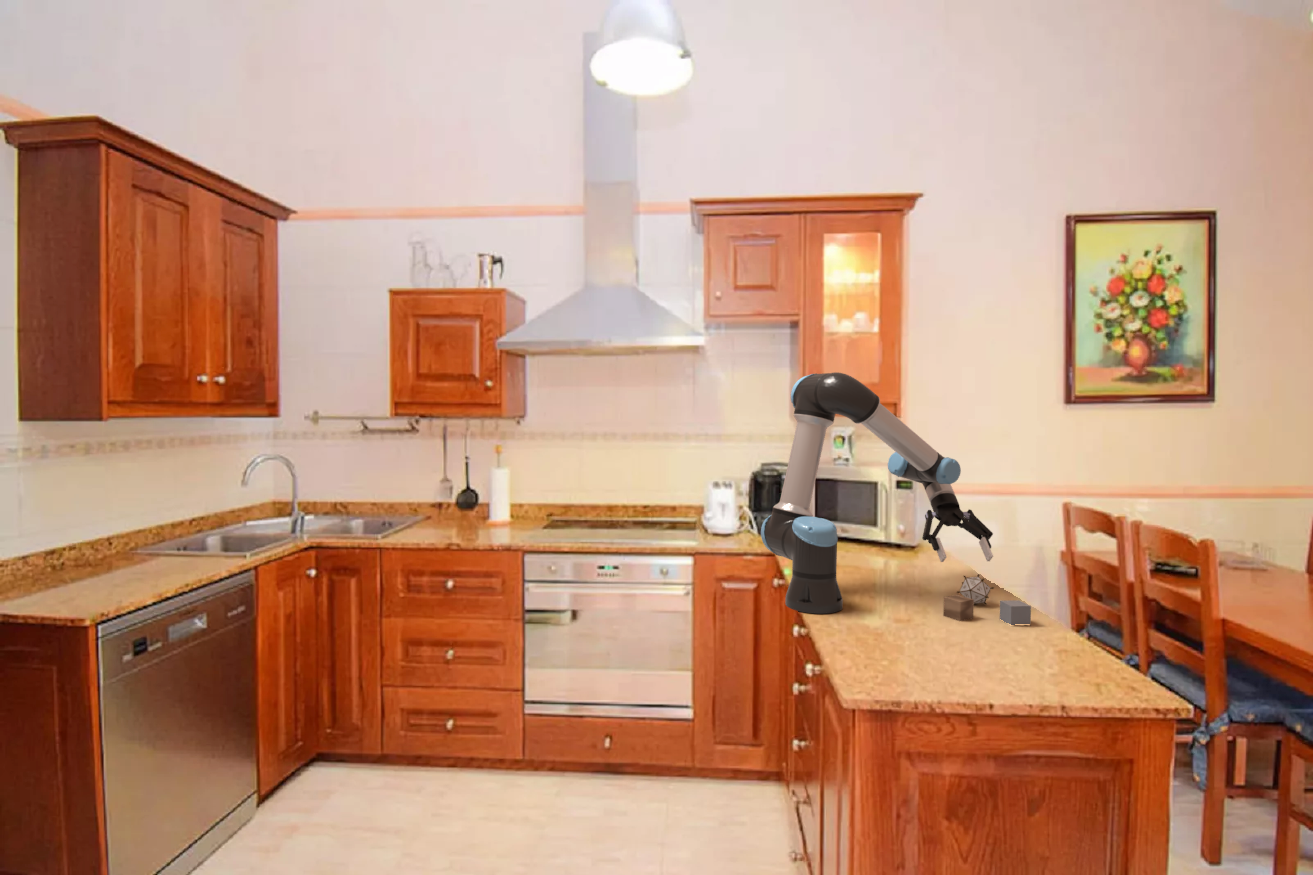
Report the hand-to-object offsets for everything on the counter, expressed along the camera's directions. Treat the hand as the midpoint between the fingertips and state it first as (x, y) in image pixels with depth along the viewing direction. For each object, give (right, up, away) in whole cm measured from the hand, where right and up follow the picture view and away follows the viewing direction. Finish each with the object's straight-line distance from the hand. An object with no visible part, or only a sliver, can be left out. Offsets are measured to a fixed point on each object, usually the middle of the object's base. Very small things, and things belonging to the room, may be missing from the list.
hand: (967, 559), depth 192 cm
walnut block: (-10, -12, -18) cm, 24 cm away
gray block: (+2, -12, -22) cm, 25 cm away
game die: (-1, -11, -6) cm, 13 cm away
